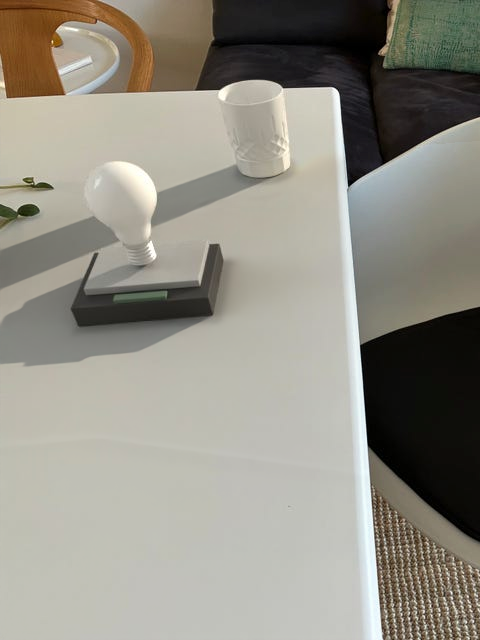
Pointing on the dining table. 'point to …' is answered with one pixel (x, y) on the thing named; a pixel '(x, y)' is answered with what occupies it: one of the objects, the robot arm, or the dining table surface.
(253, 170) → the white cup
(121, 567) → the dining table surface
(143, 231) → the lightbulb
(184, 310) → the scale
